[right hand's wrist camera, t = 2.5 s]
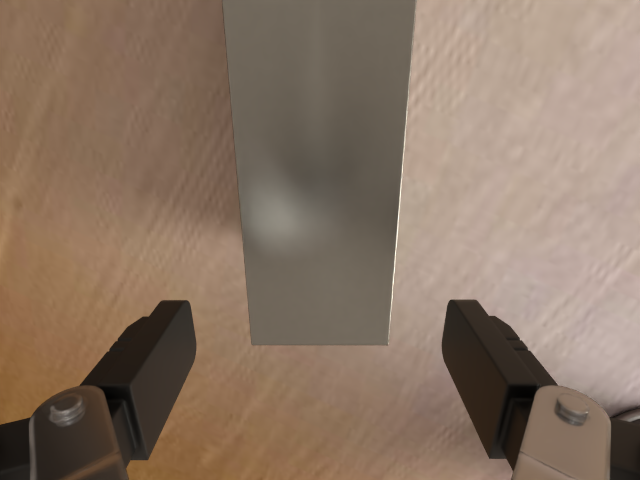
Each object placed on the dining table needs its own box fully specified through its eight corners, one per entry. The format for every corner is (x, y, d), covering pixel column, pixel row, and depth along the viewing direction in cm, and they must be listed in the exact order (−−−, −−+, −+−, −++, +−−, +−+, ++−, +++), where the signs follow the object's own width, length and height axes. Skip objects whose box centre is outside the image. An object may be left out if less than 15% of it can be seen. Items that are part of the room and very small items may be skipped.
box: (360, 241, 29) (388, 345, 17) (280, 241, 29) (251, 345, 17) (382, -266, 18) (493, -932, 6) (257, -265, 18) (141, -924, 7)
